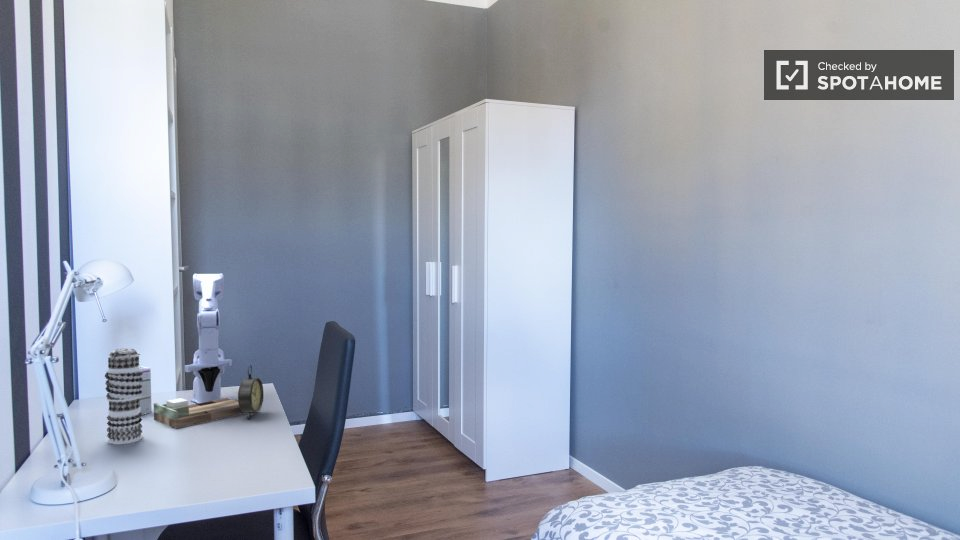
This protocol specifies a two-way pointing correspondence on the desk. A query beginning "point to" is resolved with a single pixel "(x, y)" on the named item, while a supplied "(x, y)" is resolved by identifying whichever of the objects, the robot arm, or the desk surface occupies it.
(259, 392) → the alarm clock
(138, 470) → the desk surface
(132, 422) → the decorative candle
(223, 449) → the desk surface
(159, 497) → the desk surface
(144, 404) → the syrup box
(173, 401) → the white block
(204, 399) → the robot arm
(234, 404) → the trap board
